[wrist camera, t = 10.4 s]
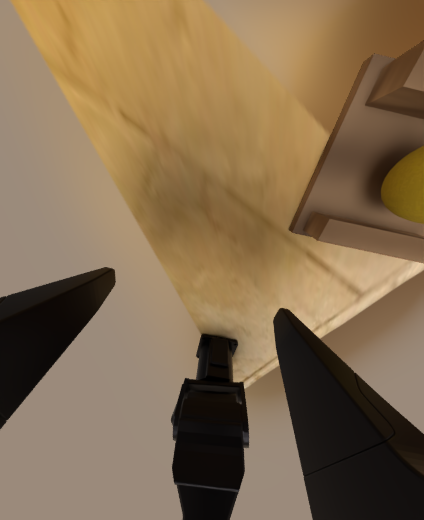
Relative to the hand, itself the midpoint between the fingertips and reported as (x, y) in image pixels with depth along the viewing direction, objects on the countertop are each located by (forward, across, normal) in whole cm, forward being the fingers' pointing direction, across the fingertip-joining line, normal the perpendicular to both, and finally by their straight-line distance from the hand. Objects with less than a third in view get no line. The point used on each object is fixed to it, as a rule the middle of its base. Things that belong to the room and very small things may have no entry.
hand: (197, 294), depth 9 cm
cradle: (+11, -15, -9) cm, 21 cm away
